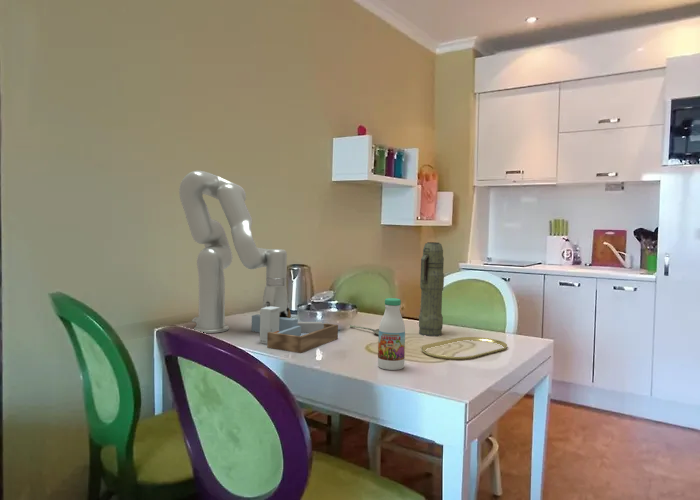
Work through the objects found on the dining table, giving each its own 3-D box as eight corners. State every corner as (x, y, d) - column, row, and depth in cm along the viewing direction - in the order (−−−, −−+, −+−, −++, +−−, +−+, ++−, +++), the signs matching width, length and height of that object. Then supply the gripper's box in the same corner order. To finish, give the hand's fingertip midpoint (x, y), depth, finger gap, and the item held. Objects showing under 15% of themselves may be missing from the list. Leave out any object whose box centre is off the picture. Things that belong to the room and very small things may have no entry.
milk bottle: (376, 363, 156) (377, 296, 155) (401, 363, 156) (403, 297, 155) (379, 370, 148) (381, 300, 147) (406, 370, 149) (408, 301, 148)
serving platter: (517, 348, 181) (517, 344, 181) (456, 365, 157) (456, 359, 157) (472, 338, 195) (472, 334, 194) (409, 352, 171) (409, 348, 171)
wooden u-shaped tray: (267, 347, 172) (267, 332, 172) (306, 334, 194) (306, 321, 193) (301, 352, 166) (301, 337, 166) (337, 338, 188) (338, 324, 187)
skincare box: (269, 344, 176) (270, 309, 175) (259, 343, 178) (259, 308, 177) (279, 341, 182) (280, 307, 181) (269, 339, 183) (269, 306, 183)
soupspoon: (384, 341, 190) (395, 339, 195) (384, 332, 190) (396, 330, 195) (343, 329, 206) (355, 328, 211) (344, 320, 206) (355, 319, 211)
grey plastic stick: (296, 333, 195) (296, 323, 195) (296, 332, 198) (296, 321, 198) (328, 333, 197) (328, 323, 196) (327, 332, 200) (328, 321, 199)
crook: (224, 339, 183) (225, 322, 182) (256, 329, 200) (257, 314, 200) (272, 346, 175) (272, 328, 174) (301, 335, 192) (301, 319, 192)
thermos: (412, 334, 198) (414, 242, 196) (428, 329, 207) (431, 241, 205) (432, 338, 192) (435, 243, 191) (448, 333, 201) (451, 242, 200)
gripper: (281, 279, 203) (280, 323, 204) (253, 283, 188) (253, 330, 189) (297, 280, 200) (296, 325, 201) (270, 285, 184) (270, 333, 185)
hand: (275, 327), depth 195 cm, fingers open, 9 cm apart
